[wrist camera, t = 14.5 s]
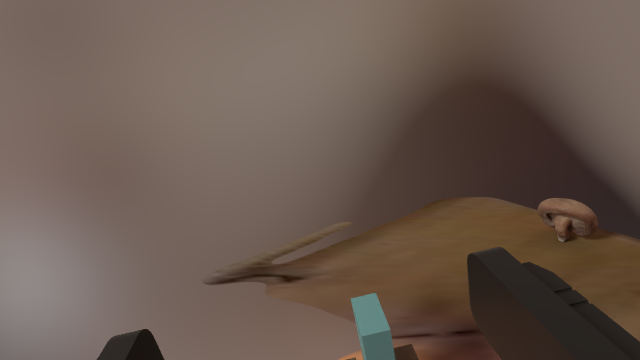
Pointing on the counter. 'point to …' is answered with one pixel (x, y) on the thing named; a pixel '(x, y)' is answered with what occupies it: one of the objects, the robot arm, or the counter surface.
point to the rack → (402, 353)
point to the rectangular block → (372, 328)
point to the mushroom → (568, 217)
